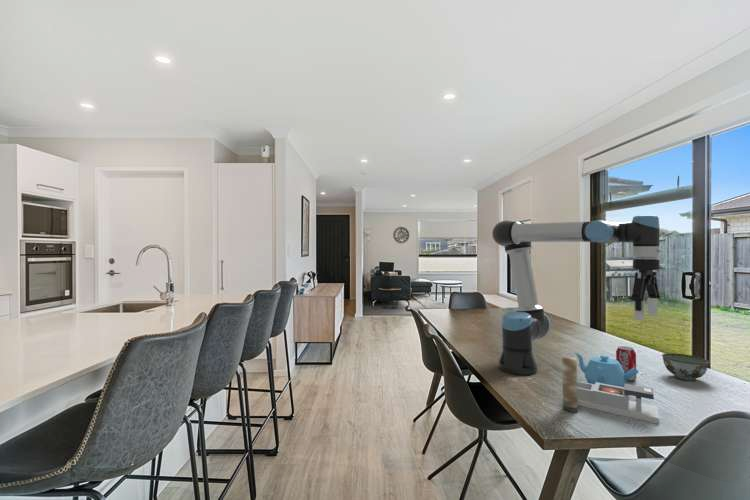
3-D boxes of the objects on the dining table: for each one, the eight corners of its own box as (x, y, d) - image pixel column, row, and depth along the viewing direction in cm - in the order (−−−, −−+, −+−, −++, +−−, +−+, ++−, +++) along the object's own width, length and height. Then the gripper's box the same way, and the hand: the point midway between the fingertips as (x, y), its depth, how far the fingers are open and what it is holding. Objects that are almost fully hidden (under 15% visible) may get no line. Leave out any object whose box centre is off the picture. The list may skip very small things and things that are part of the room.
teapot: (595, 394, 118) (595, 361, 119) (573, 380, 132) (573, 350, 132) (640, 395, 118) (640, 362, 118) (613, 380, 132) (613, 350, 132)
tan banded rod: (561, 410, 107) (560, 358, 107) (564, 405, 110) (563, 355, 110) (576, 413, 104) (575, 361, 104) (578, 409, 107) (577, 357, 108)
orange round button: (601, 396, 109) (601, 391, 109) (602, 391, 112) (602, 387, 112) (619, 399, 106) (619, 395, 106) (620, 394, 109) (620, 390, 109)
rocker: (624, 393, 104) (623, 388, 104) (624, 387, 109) (624, 382, 109) (653, 399, 100) (653, 394, 100) (653, 393, 105) (652, 387, 105)
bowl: (660, 378, 133) (660, 358, 133) (663, 370, 143) (662, 351, 143) (710, 387, 124) (709, 365, 124) (708, 378, 133) (708, 357, 133)
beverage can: (640, 382, 129) (639, 350, 130) (621, 381, 131) (620, 349, 131) (631, 376, 136) (630, 346, 136) (613, 375, 137) (612, 345, 137)
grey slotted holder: (567, 402, 112) (566, 386, 112) (572, 393, 120) (571, 377, 120) (659, 423, 98) (658, 404, 98) (657, 411, 106) (657, 393, 106)
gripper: (646, 259, 112) (647, 323, 112) (669, 258, 127) (670, 315, 127) (620, 258, 118) (620, 320, 118) (645, 258, 133) (645, 312, 133)
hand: (646, 317), depth 123 cm, fingers open, 13 cm apart
